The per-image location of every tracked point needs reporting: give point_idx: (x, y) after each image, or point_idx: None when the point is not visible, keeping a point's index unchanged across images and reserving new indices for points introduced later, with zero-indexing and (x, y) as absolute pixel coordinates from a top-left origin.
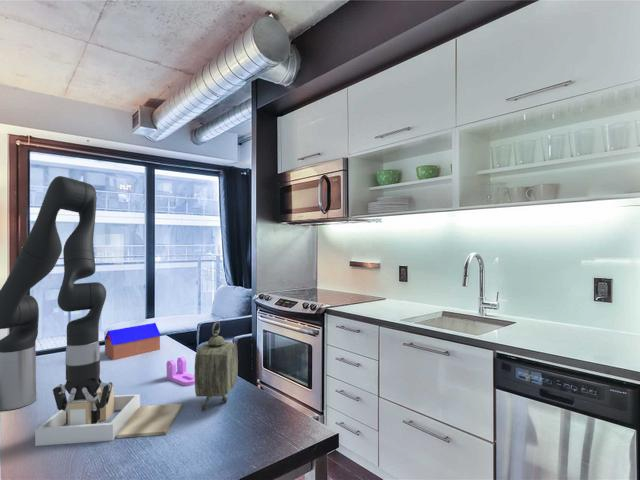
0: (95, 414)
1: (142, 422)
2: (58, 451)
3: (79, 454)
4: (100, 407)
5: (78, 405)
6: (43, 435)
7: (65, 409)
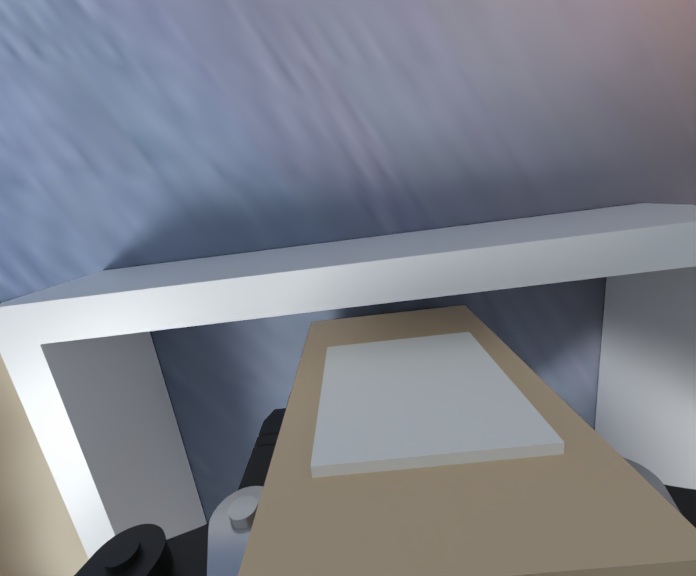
0: (268, 463)
1: (20, 466)
2: (417, 124)
3: (220, 77)
4: (154, 536)
5: (444, 526)
6: (647, 216)
7: (660, 486)
